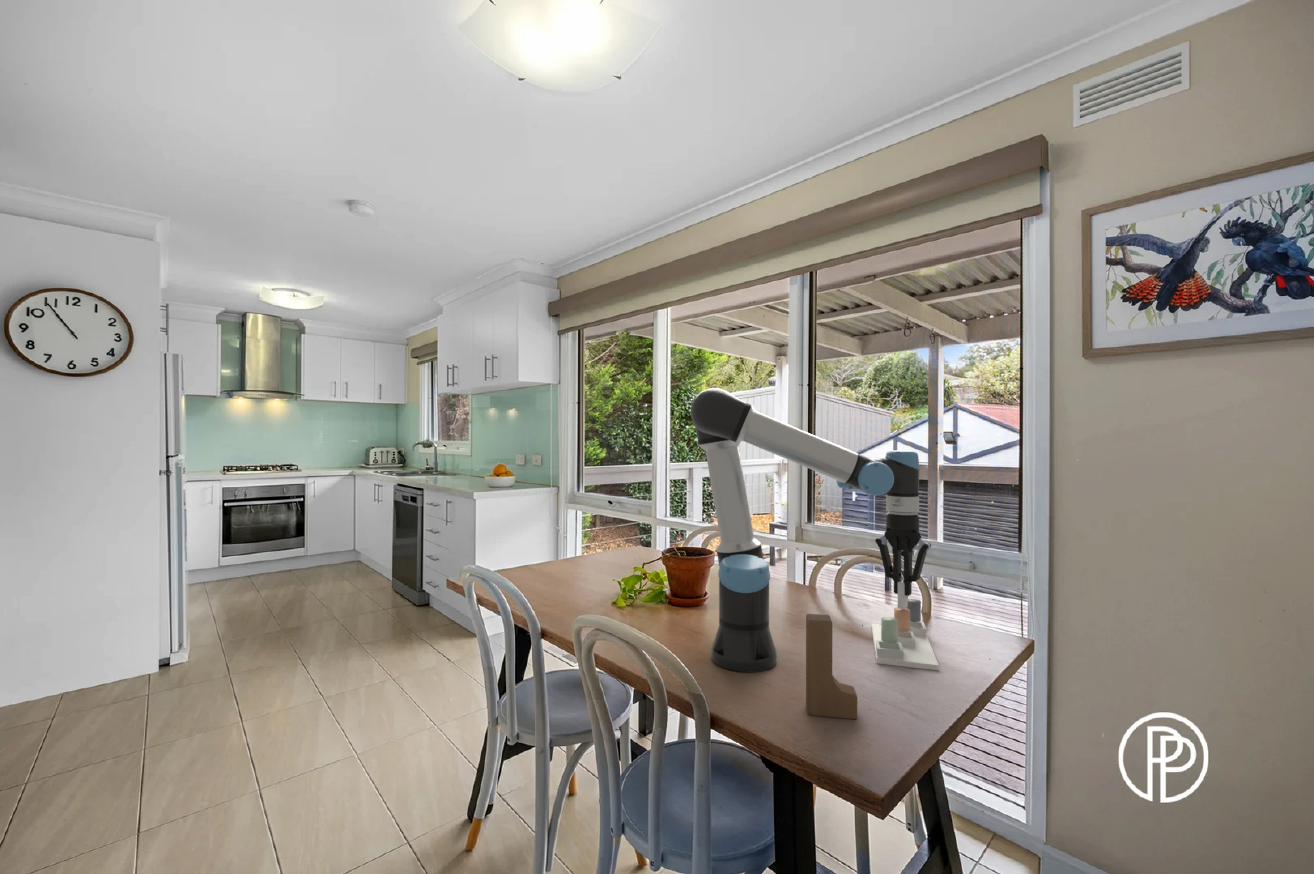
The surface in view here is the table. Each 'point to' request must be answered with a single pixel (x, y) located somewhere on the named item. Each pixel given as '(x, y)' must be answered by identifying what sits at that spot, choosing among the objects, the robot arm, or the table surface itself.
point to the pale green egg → (889, 629)
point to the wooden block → (825, 674)
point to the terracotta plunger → (902, 619)
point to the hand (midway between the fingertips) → (902, 607)
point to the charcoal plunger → (914, 610)
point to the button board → (905, 648)
